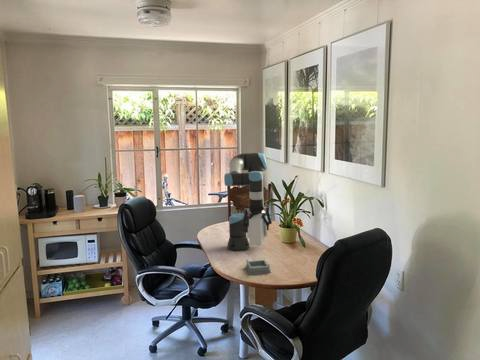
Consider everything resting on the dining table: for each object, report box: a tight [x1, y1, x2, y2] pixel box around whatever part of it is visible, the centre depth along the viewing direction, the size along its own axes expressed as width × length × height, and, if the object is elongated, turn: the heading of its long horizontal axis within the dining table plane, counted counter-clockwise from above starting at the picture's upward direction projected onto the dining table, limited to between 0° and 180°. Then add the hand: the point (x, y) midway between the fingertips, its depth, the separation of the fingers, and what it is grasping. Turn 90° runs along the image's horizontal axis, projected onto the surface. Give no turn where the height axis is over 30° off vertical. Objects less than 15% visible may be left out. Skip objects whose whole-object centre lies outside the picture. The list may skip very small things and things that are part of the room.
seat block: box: [245, 258, 272, 276], centre depth 223 cm, size 12×12×5 cm
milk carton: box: [248, 212, 266, 247], centre depth 219 cm, size 7×7×19 cm
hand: (257, 236), depth 220 cm, fingers closed on milk carton, 10 cm apart
